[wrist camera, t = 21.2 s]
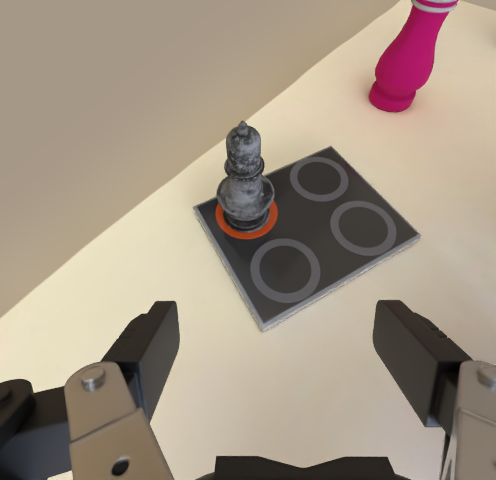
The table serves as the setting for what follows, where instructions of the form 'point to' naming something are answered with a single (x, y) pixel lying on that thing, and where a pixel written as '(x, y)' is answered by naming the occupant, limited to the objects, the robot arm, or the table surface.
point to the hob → (307, 237)
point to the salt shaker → (245, 182)
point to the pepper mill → (409, 56)
